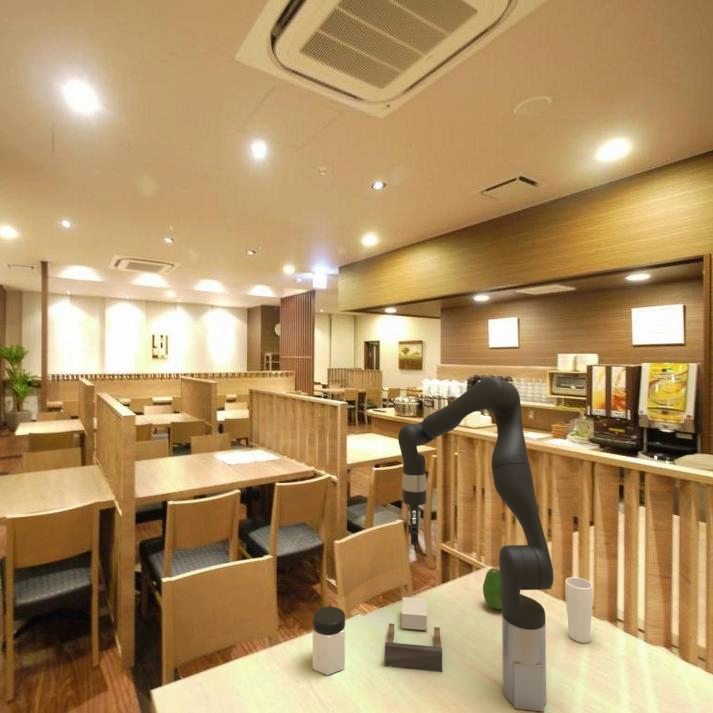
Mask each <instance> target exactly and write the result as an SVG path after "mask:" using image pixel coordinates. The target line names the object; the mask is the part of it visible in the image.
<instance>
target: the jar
mask: <svg viewBox="0 0 713 713" xmlns="http://www.w3.org/2000/svg"><path fill="white" fill-rule="evenodd" d="M345 626H346V613H345V612H344V610H342V609H341V608H338V607H337V606H324V607H323V606H322V607H320V608H318V609H317V610H315V611H314V613H313V615H312V670H313V669H314V671H316V672H318V671H319V673H320V672H321V674H323V673H324V674H323V675H325V674H326V675H325V676H330V675H329V674H331V673H333V674H335V673H334V672H336V673H338V672H341V671H343V670H345V664H346V663H345V659H346V649H345V648H346V646H345V644H346V642H345V640H346V639H345V638H346V637H345V636H346V628H345ZM340 670H341V671H340ZM337 671H338V672H337ZM331 675H332V674H331Z"/></svg>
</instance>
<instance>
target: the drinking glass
mask: <svg viewBox="0 0 713 713" xmlns="http://www.w3.org/2000/svg"><path fill="white" fill-rule="evenodd" d="M564 583H565V586H564V587H565V588H564V589H565V590H564V591H565V592H564V593H565V603H566V604H565V606H566V613H567V614H566V615H567V625H568V636H569V638H571V639H572V640H573V641H574V642H577V643H581V644H587V643H589V642H590V641H591V637H592V636H591V631H592V629H591V628H592V616H593V607H594V591H593V590H594V589H593V584H592V583H591V582H590V581H589V580H587V579H585V578H581V577H578V576H577V577H576V576H570V577H568V578H566V579H565V582H564Z"/></svg>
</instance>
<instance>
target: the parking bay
mask: <svg viewBox="0 0 713 713" xmlns="http://www.w3.org/2000/svg"><path fill="white" fill-rule="evenodd" d="M440 628H441V627H436V626H434V627H433V638H434V640H433V641H434V645H421V644H412V643H411V644H410V643H402V642H401V643H400V642H394V641H393V640H394V639H395V623H388V629H387V634H386V635H387V637H386V641H385V643H384V667H388V666H392V667H391V668H398V667H399V668H400V669H409V670H417V671H418V670H419V671H420V670H421V671H429V672H440V673H443V647H442V641H441V629H440Z"/></svg>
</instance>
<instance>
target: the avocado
mask: <svg viewBox="0 0 713 713" xmlns="http://www.w3.org/2000/svg"><path fill="white" fill-rule="evenodd" d="M482 593H483V598H484V601H485V603H486V604H487V605H488V607H490V608H491V609H492V610H493V609H494V610H502V602H501V582H500V568H499V569H498V568H495V567H492V568H490V569H488V571H486V575H485V576H484V581H483V585H482Z"/></svg>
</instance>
